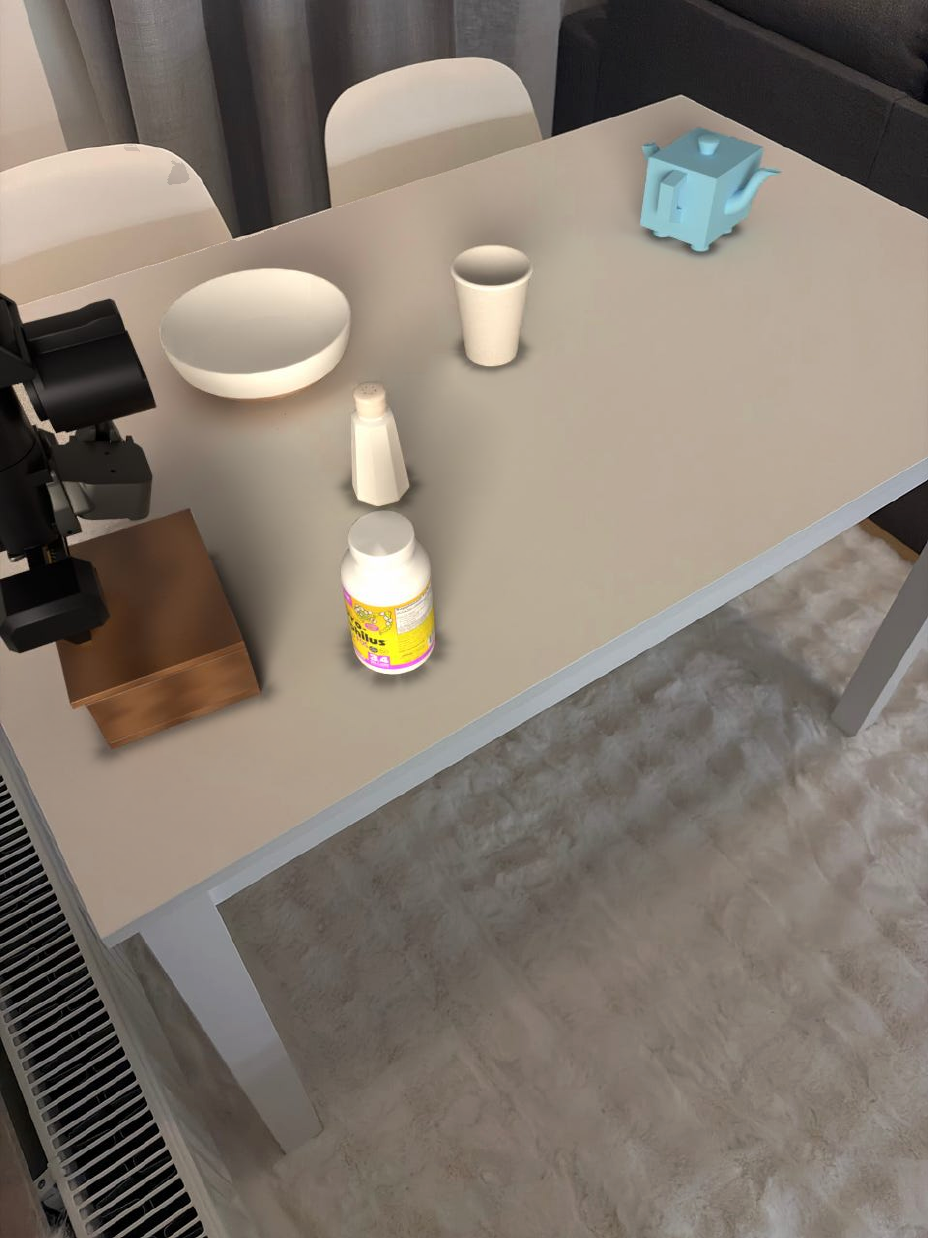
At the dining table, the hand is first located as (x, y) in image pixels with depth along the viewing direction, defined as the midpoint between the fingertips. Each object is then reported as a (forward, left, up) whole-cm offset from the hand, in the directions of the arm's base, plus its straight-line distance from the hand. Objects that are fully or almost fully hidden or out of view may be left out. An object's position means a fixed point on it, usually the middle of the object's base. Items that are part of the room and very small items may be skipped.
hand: (76, 612), depth 68 cm
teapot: (+81, +36, -7) cm, 89 cm away
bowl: (+24, +33, -7) cm, 41 cm away
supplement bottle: (+22, -8, -7) cm, 24 cm away
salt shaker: (+28, +10, -7) cm, 30 cm away
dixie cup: (+47, +25, -7) cm, 53 cm away
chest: (+5, 0, -7) cm, 8 cm away
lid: (+4, 0, -1) cm, 4 cm away
